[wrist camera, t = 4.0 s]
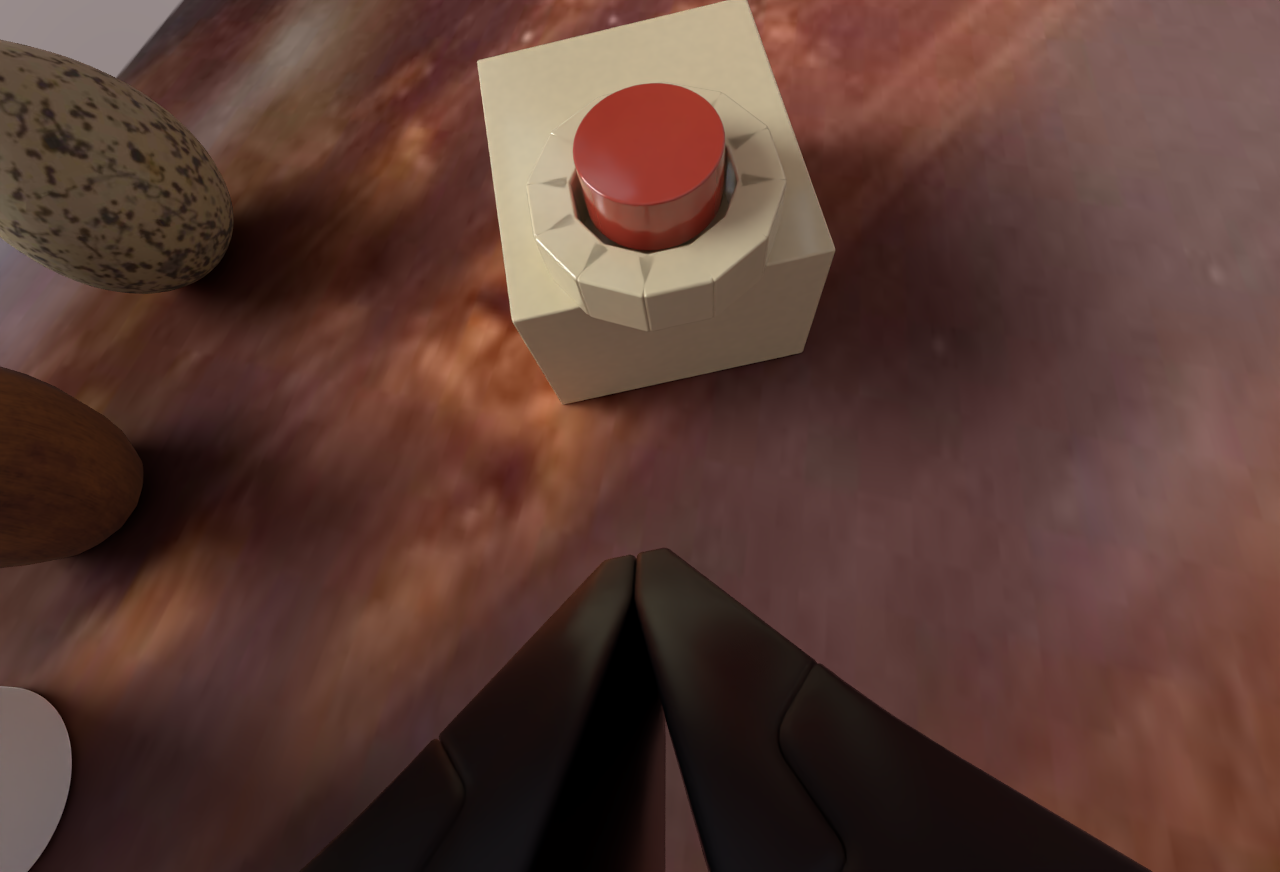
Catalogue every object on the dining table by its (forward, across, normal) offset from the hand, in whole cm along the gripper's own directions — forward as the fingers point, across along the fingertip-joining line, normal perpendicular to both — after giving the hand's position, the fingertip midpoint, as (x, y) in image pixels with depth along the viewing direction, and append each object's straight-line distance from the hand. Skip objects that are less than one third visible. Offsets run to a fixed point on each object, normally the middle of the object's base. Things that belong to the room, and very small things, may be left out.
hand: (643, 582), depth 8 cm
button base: (+18, +2, 0) cm, 18 cm away
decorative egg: (+22, -18, +4) cm, 29 cm away
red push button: (+11, +2, +4) cm, 12 cm away
